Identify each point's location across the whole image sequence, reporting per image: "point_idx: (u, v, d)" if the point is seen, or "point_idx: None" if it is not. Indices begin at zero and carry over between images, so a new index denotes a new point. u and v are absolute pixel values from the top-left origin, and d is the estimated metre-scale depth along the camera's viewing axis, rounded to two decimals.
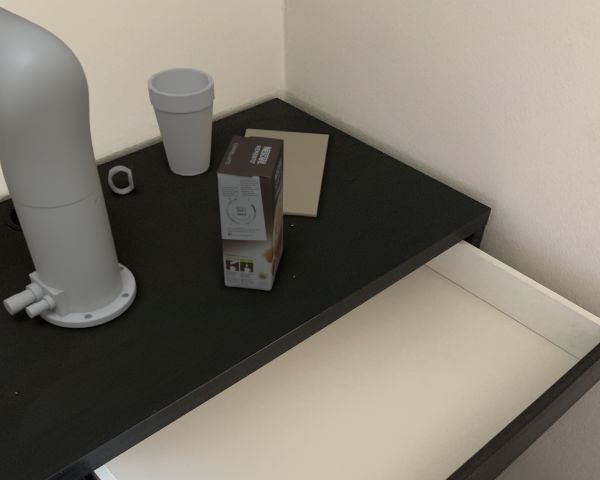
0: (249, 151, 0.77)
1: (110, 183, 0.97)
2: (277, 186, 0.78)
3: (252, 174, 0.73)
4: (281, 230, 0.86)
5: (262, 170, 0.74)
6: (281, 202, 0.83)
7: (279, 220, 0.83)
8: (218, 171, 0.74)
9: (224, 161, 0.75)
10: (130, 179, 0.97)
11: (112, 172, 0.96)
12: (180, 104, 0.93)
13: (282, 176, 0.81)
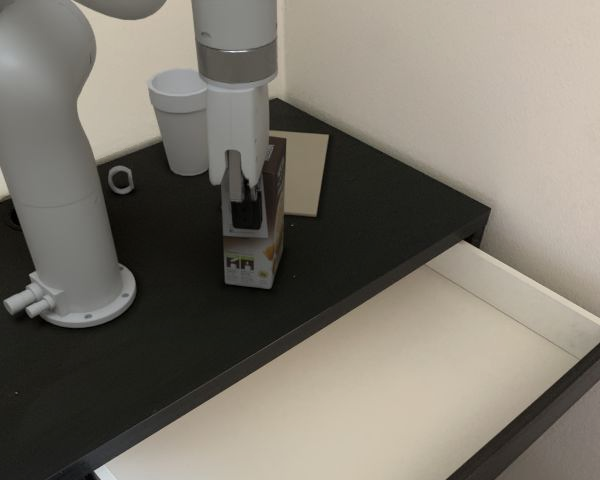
0: None
1: (110, 183, 0.97)
2: (279, 184, 0.78)
3: None
4: (282, 229, 0.86)
5: (265, 166, 0.74)
6: (282, 201, 0.83)
7: (280, 219, 0.83)
8: None
9: None
10: (130, 179, 0.97)
11: (112, 172, 0.96)
12: (180, 104, 0.93)
13: (284, 175, 0.82)
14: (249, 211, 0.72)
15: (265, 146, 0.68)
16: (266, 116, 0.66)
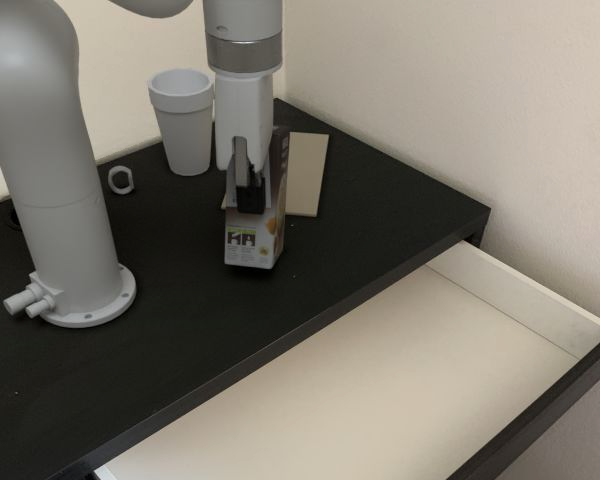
0: None
1: (110, 183, 0.97)
2: (283, 158, 0.80)
3: None
4: (283, 221, 0.87)
5: None
6: (285, 188, 0.85)
7: (282, 203, 0.84)
8: None
9: None
10: (130, 179, 0.97)
11: (112, 172, 0.96)
12: (180, 104, 0.93)
13: (287, 162, 0.84)
14: (253, 196, 0.76)
15: (269, 134, 0.72)
16: (271, 105, 0.69)
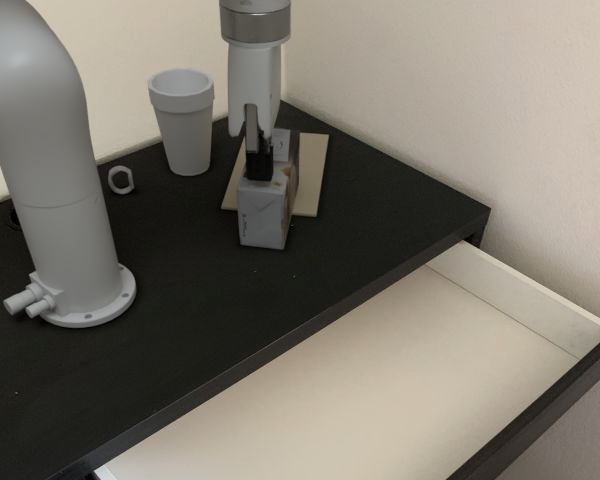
0: None
1: (110, 183, 0.97)
2: (297, 164, 0.95)
3: (284, 129, 0.94)
4: (288, 220, 0.92)
5: None
6: (293, 200, 0.95)
7: (292, 196, 0.92)
8: None
9: None
10: (130, 179, 0.97)
11: (112, 172, 0.96)
12: (180, 104, 0.93)
13: (295, 193, 0.97)
14: (262, 163, 0.81)
15: (278, 103, 0.77)
16: (279, 75, 0.74)
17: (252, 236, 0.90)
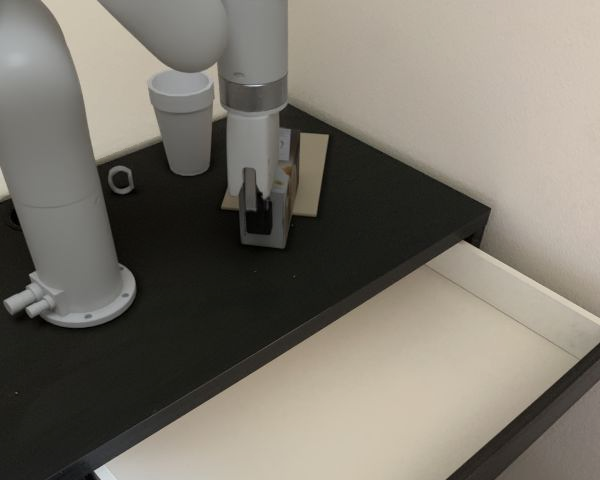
0: None
1: (110, 183, 0.97)
2: (297, 163, 0.95)
3: (285, 129, 0.94)
4: (289, 219, 0.92)
5: None
6: (293, 199, 0.95)
7: (292, 195, 0.93)
8: None
9: None
10: (130, 179, 0.97)
11: (112, 172, 0.96)
12: (180, 104, 0.93)
13: (295, 192, 0.97)
14: (261, 219, 0.83)
15: (276, 163, 0.78)
16: (277, 137, 0.76)
17: (253, 235, 0.90)
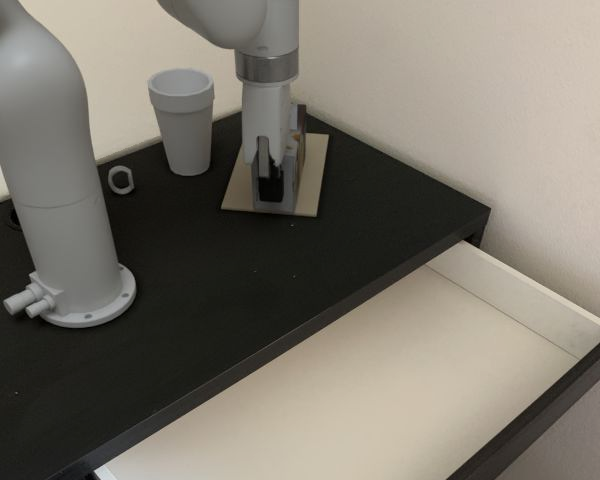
0: None
1: (110, 183, 0.97)
2: (304, 136, 1.00)
3: (292, 104, 1.00)
4: (298, 186, 0.97)
5: None
6: (301, 169, 1.00)
7: (300, 164, 0.98)
8: None
9: None
10: (130, 179, 0.97)
11: (112, 172, 0.96)
12: (180, 104, 0.93)
13: (303, 164, 1.03)
14: (273, 187, 0.88)
15: (287, 133, 0.84)
16: (289, 108, 0.81)
17: None
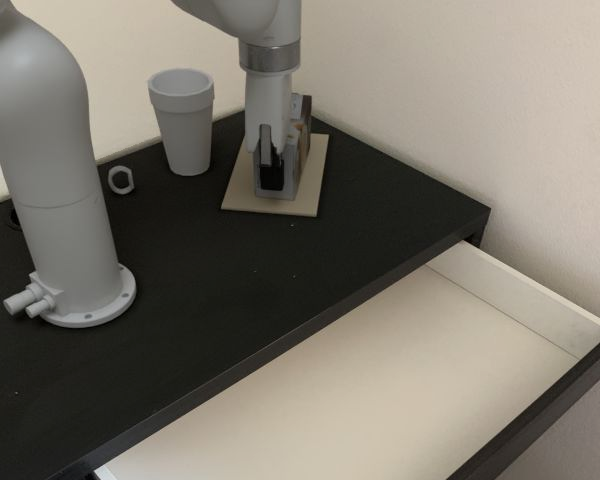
0: None
1: (110, 183, 0.97)
2: (309, 126, 1.02)
3: (298, 94, 1.02)
4: (299, 175, 1.00)
5: None
6: (304, 159, 1.02)
7: (303, 153, 1.00)
8: None
9: None
10: (130, 179, 0.97)
11: (112, 172, 0.96)
12: (180, 104, 0.93)
13: (306, 154, 1.05)
14: (274, 175, 0.91)
15: (288, 122, 0.86)
16: (290, 98, 0.84)
17: None
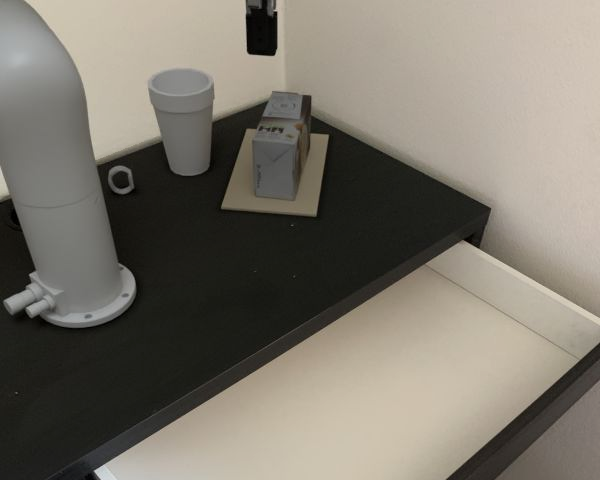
0: None
1: (110, 183, 0.97)
2: (308, 126, 1.02)
3: (297, 94, 1.02)
4: (299, 175, 1.00)
5: None
6: (304, 159, 1.02)
7: (303, 153, 1.00)
8: (273, 91, 1.02)
9: None
10: (130, 179, 0.97)
11: (112, 172, 0.96)
12: (180, 104, 0.93)
13: (306, 154, 1.05)
14: (265, 30, 0.70)
15: None
16: None
17: (266, 187, 0.97)
